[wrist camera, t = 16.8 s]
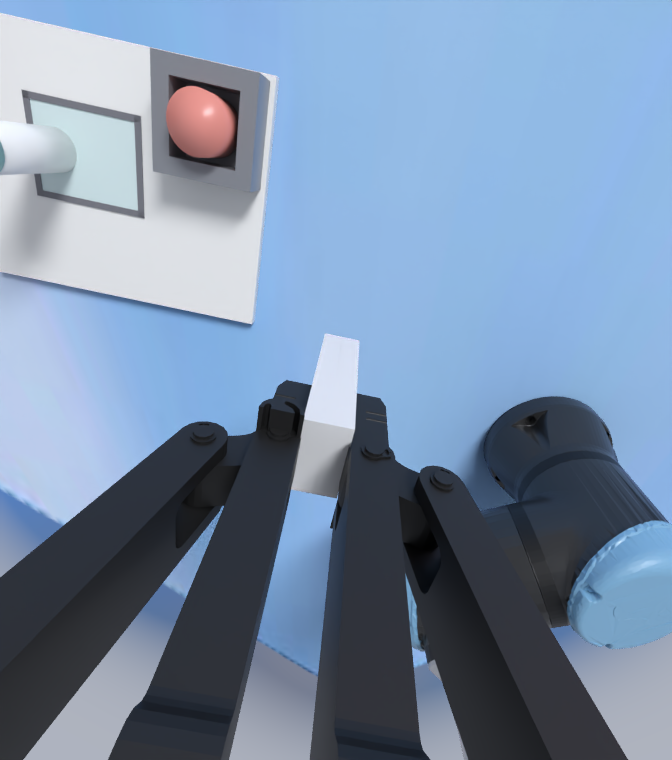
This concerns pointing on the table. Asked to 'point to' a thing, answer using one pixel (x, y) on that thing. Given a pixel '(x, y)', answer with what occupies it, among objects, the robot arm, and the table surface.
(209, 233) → the sheet
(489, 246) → the table surface
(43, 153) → the marker
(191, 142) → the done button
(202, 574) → the robot arm
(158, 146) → the button housing
